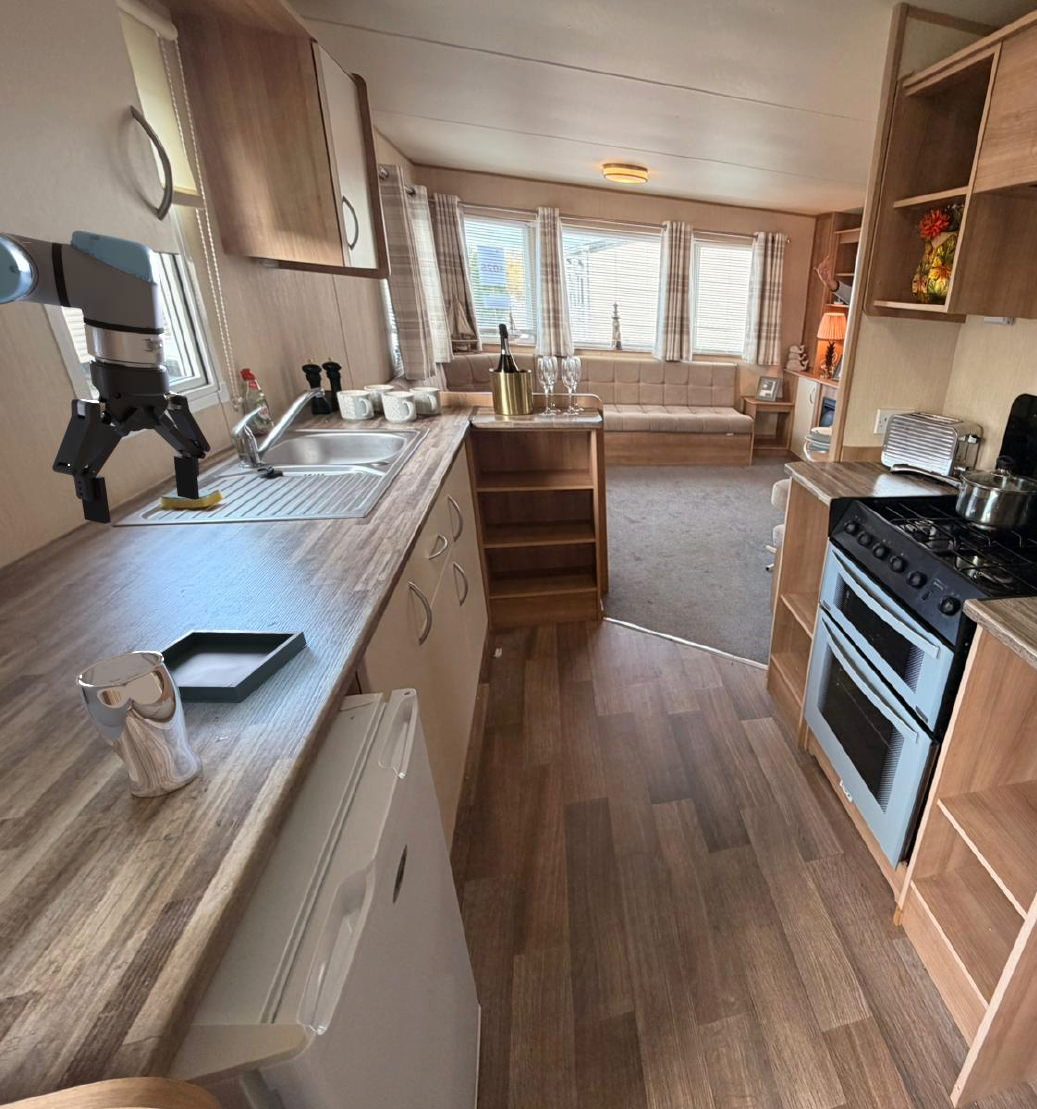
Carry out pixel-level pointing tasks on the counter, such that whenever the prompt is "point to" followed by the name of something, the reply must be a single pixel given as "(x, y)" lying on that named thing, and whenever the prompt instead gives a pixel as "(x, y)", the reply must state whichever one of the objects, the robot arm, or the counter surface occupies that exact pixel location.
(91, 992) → the counter surface
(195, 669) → the tray
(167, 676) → the shiny silver metal cup
